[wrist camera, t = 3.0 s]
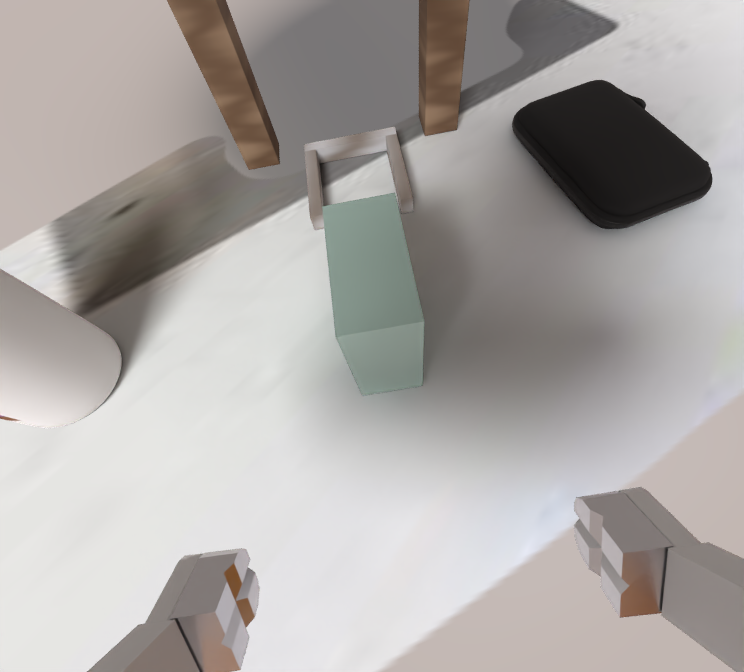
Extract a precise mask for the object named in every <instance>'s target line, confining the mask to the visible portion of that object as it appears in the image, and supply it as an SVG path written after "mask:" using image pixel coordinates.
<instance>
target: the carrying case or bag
mask: <svg viewBox="0 0 744 672" xmlns="http://www.w3.org/2000/svg"><path fill="white" fill-rule="evenodd" d="M645 107H646V103H645V102H644V101H643V100H642V99H640V98H637V97H634V96H631V95H629V94H626V93H625V92H623V91H622V90H620V89H618V88H617V87H615V86H614V85H613V84H611V83H609V82H607V81H604V80H595V81H590V82H587V83H584V84H581V85H579V86H576V87H573V88H570V89H567V90H565V91H562V92H559V93H556V94H553V95H551V96H548V97H545V98H542V99H539V100H537V101H534V102H531V103H529V104H528V105H526V106H525V107H523V108H522V109H520V110H519V111H518V112H517V113H516V115H515V116H514V118H513V122H512V127H513V131H514V133H515V135H516V136H517V137H518V139H519V140H520V141H521V143H522V144H523V145H524V146H525V147H526V149H527V150H528V151H529V152H530V153H531V154H532V156H533V157H534V158H535V159H536V160H537V161H538V162H539V164H540V165H541V166H542V167H543V168H544V169H545V170H546V172H547V173H548V174H549V175H550V176H551V177H552V178H553V180H554V181H555V182H556V183H557V184H558V185H559V186H560V187H561V188H562V190H563V191H564V192H565V193H566V194H567V195H568V196H569V197H570V198H571V200H572V201H573V202H574V203H575V204H576V205H577V206H578V207H579V208H580V209H581V211H582V212H583V213H584V214H585V215H586V216H587V217H588V218H589V219H590V220H591V221H592V222H593V223H595V224H596V225H598V226H599V227H601V228H605V229H620V228H626V227H629V226H632V225H634V224H637V223H640V222H642V221H645V220H647V219H650V218H652V217H655V216H657V215H660V214H663V213H665V212H668V211H670V210H673V209H676V208H678V207H681V206H683V205H686V204H689V203H691V202H694V201H696V200H698V199H700V198H702V197H703V196H704V195H705V194H706V193H707V192H708V191H709V189H710V188H711V185H712V174H711V170H710V167H709V164H708V162H707V161H705V160H703V159H702V158H701V157H700V156H699V155H698V154H697V153H696V152H695V151H693V150H692V149H691V148H690V147H689V146H688V145H686V144H685V143H684V142H683V141H682V140H680V139H679V138H678V137H677V136H676V135H675V134H673V133H672V132H671V131H670V130H669V129H667V128H666V127H665V126H664V125H663V124H661V123H660V122H659V121H658V120H657V119H655V118H654V117H653V116H652V115H651V114H649V113H648V112H647V111H646V110H644V109H645Z"/></svg>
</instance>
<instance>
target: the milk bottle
mask: <svg viewBox="0 0 744 672" xmlns="http://www.w3.org/2000/svg"><path fill="white" fill-rule="evenodd" d="M121 362H122V357H121V353H120V349H119V348H118V345H117V343H116V342H115V340H114V339H113V338H112V337H111V336H110V335H109V334H108V333H106V332H105V331H103V330H101V329H100V328H98V327H97V326H95V325H94V324H92V323H90V322H89V321H87V320H85V319H84V318H82V317H80V316H79V315H77V314H75V313H74V312H72V311H70V310H69V309H67V308H65V307H64V306H62V305H60V304H59V303H57V302H55V301H54V300H52V299H50V298H49V297H47V296H45V295H44V294H42V293H40V292H39V291H37V290H35V289H34V288H32V287H30V286H29V285H27V284H25V283H24V282H22V281H20V280H18V279H17V278H15V277H13V276H12V275H10V274H8V273H7V272H5V271H3V270H1V269H0V419H4V420H9V421H13V422H17V423H21V424H25V425H30V426H35V427H40V428H55V427H61V426H66V425H69V424H72V423H75V422H77V421H79V420H81V419H83V418H85V417H86V416H88V415H89V414H90V413H92V412H93V411H95V410H96V409H97V408H98V407H99V406H100V405H101V404H102V403H103V402H104V401H105V400H106V398H107V397H108V396H109V395H110V393H111V392H112V390H113V388H114V387H115V385H116V383H117V380H118V378H119V376H120V371H121V367H122V363H121Z"/></svg>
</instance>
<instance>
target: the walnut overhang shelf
mask: <svg viewBox="0 0 744 672" xmlns="http://www.w3.org/2000/svg"><path fill="white" fill-rule="evenodd" d="M167 1H168V4H169V5H170V8H171V10H172V12H173V14H174V16H175V18H176V20H177V22H178V24H179V26H180V28H181V30H182V32H183V35H184V37H185V39H186V41H187V43H188V45H189V47H190V49H191V51H192V53H193V55H194V57H195V59H196V61H197V63H198V66H199V68H200V70H201V72H202V74H203V76H204V78H205V80H206V82H207V84H208V86H209V88H210V90H211V92H212V94H213V96H214V99H215V100H216V103H217V105H218V107H219V109H220V111H221V113H222V115H223V117H224V119H225V121H226V123H227V125H228V128H229V129H230V132H231V134H232V136H233V138H234V140H235V142H236V144H237V146H238V148H239V150H240V152H241V154H242V156H243V159H244V161H245V163H246V165H247V167H248V169H249V170H250V169H256V168H261V167H266V166H271V165H277V164H280V161H279V143H278V140H277V137H276V135H275V132H274V129H273V126H272V124H271V121H270V118H269V116H268V113H267V110H266V108H265V105H264V102H263V100H262V97H261V94H260V91H259V89H258V86H257V83H256V81H255V78H254V75H253V72H252V70H251V67H250V64H249V62H248V59H247V56H246V54H245V51H244V48H243V46H242V43H241V40H240V38H239V35H238V32H237V29H236V27H235V24H234V21H233V18H232V16H231V13H230V10H229V8H228V5H227V2H226V0H167ZM469 1H470V0H419V118H420V121H421V125H422V128H423V131H424V134H425V136H427V135H432V134H438V133H443V132H448V131H453V130H457V122H458V112H459V102H460V92H461V82H462V71H463V60H464V51H465V41H466V31H467V21H468V10H469ZM304 149H305V162H306V174H307V186H308V198H309V210H310V218H311V221H312V224H313V227H314V229H315V230H317V229H323V228H324V219H323V210H322V206H324V202H323V192H322V183H321V174H320V163H325V162H330V161H335V160H341V159H346V158H351V157H356V156H361V155H367V154H372V153H377V152H382V151H387V154H388V158H389V162H390V167H391V171H392V175H393V180H394V184H395V188H396V193H397V197H398V201H399V205H400V210H401V214H403V213H409V212H413V196H412V192H411V188H410V184H409V180H408V176H407V172H406V168H405V165H404V161H403V157H402V153H401V149H400V145H399V141H398V138H397V134H396V130H395V127H390V128H385V129H381V130H375V131H371V132H365V133H360V134H354V135H349V136H344V137H339V138H334V139H329V140H324V141H318V142H314V143H308V144H304Z"/></svg>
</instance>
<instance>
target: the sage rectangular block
mask: <svg viewBox="0 0 744 672" xmlns="http://www.w3.org/2000/svg"><path fill="white" fill-rule="evenodd" d="M322 210H323V219H324V229H325V239H326V248H327V258H328V267H329V277H330V287H331V296H332V306H333V315H334V325H335V335H336V339H337V341H338V343H339V345H340V347H341V350H342V352H343V354H344V356H345V358H346V361H347V363H348V365H349V367H350V369H351V372H352V374H353V376H354V378H355V380H356V383H357V385H358V387H359V389H360V391H361V394H362V396H365V395H371V394H377V393H383V392H389V391H395V390H401V389H407V388H413V387H419V386H423V353H424V317H423V313H422V309H421V304H420V300H419V296H418V291H417V287H416V282H415V278H414V274H413V269H412V265H411V261H410V256H409V252H408V248H407V243H406V239H405V234H404V230H403V226H402V221H401V217H400V213H399V208H398V204H397V199H396V195H395V193H391V194H386V195H380V196H375V197H370V198H364V199H359V200H354V201H348V202H343V203H338V204H333V205H327V206H322Z"/></svg>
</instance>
